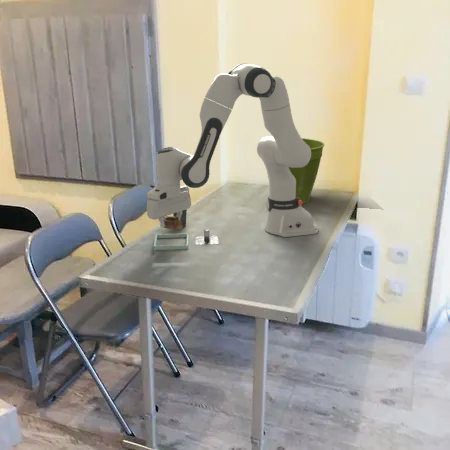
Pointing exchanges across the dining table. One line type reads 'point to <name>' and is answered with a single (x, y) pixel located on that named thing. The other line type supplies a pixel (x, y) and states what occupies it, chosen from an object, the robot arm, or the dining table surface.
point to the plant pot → (308, 171)
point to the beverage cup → (182, 217)
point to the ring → (173, 223)
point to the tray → (167, 247)
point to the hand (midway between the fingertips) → (170, 224)
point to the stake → (206, 238)
